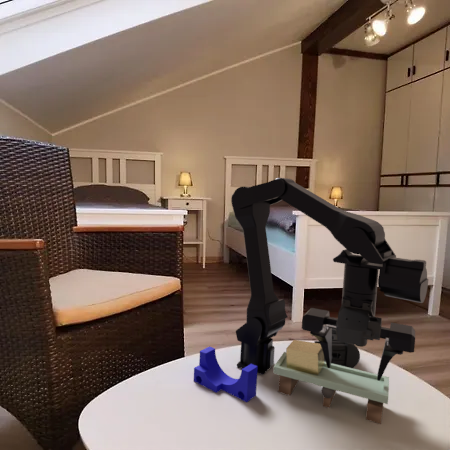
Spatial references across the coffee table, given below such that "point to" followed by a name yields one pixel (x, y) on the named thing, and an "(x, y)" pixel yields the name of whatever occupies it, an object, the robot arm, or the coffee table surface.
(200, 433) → the coffee table surface
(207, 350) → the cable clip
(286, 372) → the green rimmed tray
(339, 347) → the end cap
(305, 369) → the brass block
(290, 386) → the beam stand
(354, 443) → the coffee table surface
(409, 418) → the coffee table surface
